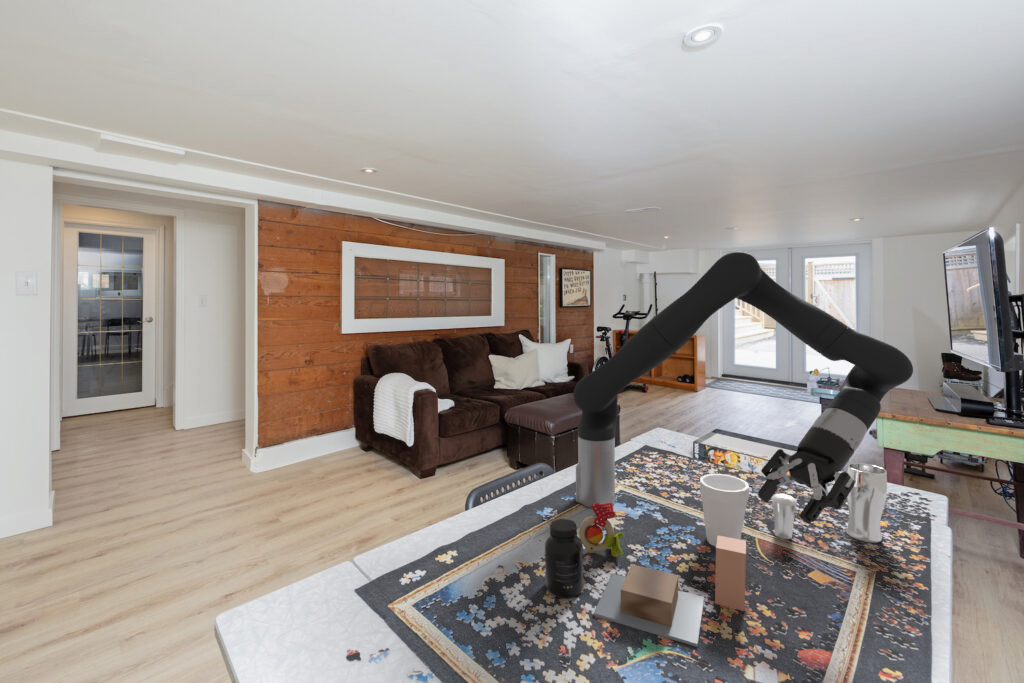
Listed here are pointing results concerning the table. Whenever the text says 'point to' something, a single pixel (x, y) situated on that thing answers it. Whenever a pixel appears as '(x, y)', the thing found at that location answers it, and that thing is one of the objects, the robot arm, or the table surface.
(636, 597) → the base slab
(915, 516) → the table surface
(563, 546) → the supplement bottle
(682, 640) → the building mat
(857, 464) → the beer glass
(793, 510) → the milkshake
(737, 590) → the tall block
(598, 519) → the bird rattle
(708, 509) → the foam cup
